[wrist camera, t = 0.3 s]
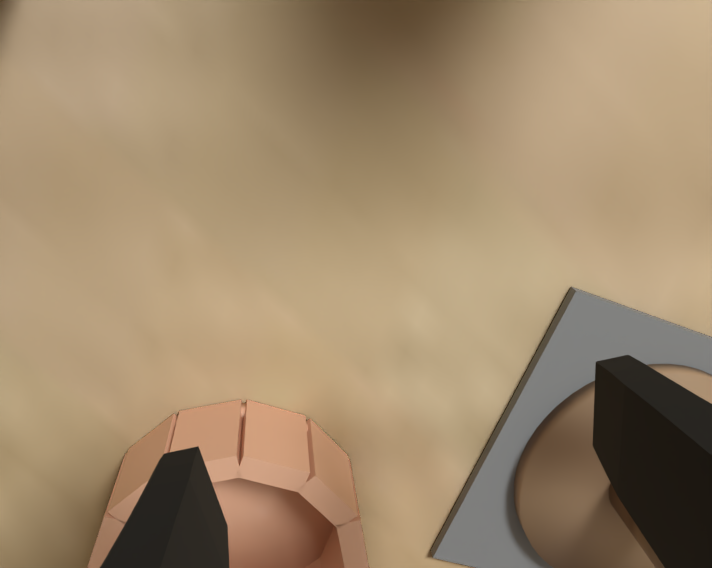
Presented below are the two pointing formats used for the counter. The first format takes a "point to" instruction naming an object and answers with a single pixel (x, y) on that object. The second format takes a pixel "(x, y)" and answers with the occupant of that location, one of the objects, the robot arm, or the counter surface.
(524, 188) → the counter surface
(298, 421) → the bowl
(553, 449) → the lid
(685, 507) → the robot arm
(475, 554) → the mat
